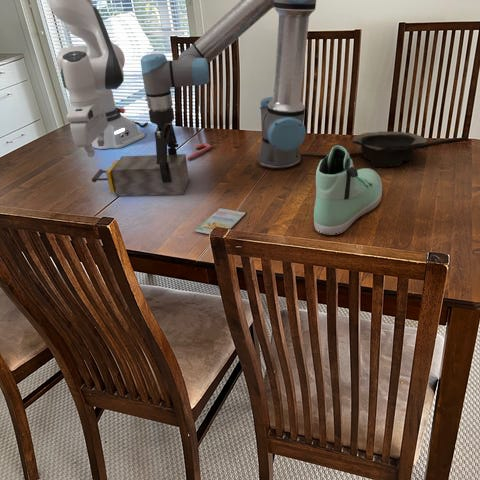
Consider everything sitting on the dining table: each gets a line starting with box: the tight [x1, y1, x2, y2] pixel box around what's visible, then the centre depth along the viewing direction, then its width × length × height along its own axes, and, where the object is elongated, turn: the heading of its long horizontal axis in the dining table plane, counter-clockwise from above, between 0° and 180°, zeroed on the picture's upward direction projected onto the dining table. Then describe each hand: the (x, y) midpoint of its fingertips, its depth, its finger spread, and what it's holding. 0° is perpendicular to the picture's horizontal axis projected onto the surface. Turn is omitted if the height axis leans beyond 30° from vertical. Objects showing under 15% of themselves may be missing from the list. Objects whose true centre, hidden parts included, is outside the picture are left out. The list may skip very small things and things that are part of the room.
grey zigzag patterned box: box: [111, 153, 190, 198], centre depth 158 cm, size 22×12×9 cm, turn 85°
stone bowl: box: [351, 131, 429, 168], centre depth 166 cm, size 25×25×9 cm
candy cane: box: [186, 143, 212, 161], centre depth 185 cm, size 6×15×2 cm, turn 145°
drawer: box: [91, 159, 120, 194], centre depth 159 cm, size 27×10×7 cm, turn 85°
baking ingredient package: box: [194, 207, 246, 235], centre depth 137 cm, size 9×1×15 cm
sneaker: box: [313, 145, 383, 236], centre depth 133 cm, size 14×35×20 cm, turn 152°
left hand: (96, 150), depth 155 cm, fingers open, 8 cm apart
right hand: (170, 174), depth 157 cm, fingers closed on grey zigzag patterned box, 11 cm apart
